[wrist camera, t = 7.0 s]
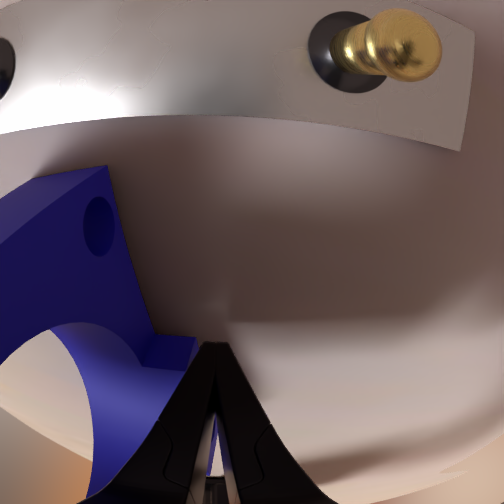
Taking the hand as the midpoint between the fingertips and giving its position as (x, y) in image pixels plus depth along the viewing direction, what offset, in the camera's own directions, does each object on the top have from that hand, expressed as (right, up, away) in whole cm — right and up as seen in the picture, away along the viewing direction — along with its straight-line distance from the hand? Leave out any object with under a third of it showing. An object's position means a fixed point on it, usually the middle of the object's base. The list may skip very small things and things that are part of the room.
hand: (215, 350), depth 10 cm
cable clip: (-3, 0, +1) cm, 3 cm away
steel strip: (0, +8, -4) cm, 9 cm away
